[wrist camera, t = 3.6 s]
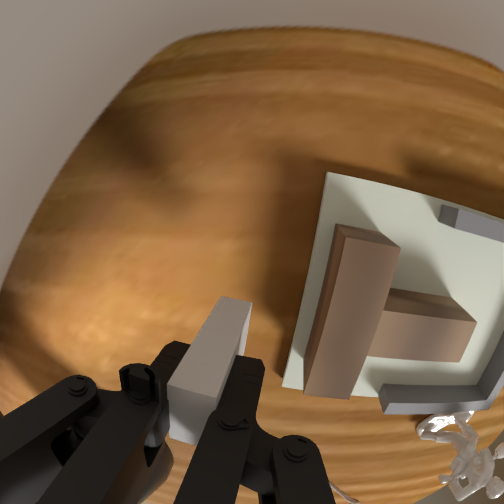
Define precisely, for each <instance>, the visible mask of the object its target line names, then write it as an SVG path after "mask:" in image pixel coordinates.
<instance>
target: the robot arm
mask: <svg viewBox="0 0 504 504" xmlns="http://www.w3.org/2000/svg"><path fill="white" fill-rule="evenodd" d="M251 308H252V302H248V301H243V300H238V299H233V298H228V297H223V296H221V297H220V299H219V300H218V302H217V304H216V305H215V307H214V308H213V310H212V312H211V313H210V315H209V316H208V318H207V320H206V321H205V323H204V325H203V326H202V328H201V329H200V331H199V333H198V334H197V336H196V338H195V339H194V341H193V342H192V344H191V345H190V344H186V343H182V342H178V341H173V342H171V343H169V344H167V345H166V346H164V348H163V349H162V350H161V352H160V353H159V355H158V356H157V357H156V358H155V361H153V363H152V364H151V365H150V366H149V365H146V364H141V363H135V364H129V365H126V366H124V367H122V368H121V369H120V370H119V375H120V381H121V388H122V390H121V391H109V390H102V389H97V387H96V383H95V382H94V381H93V380H92V379H91V378H89V377H87V376H82V375H74V376H70V377H68V378H65V379H64V380H62V381H60V382H59V383H57V384H56V385H54V386H52V387H51V388H49V389H47V390H46V391H44V392H43V393H41V394H39V395H38V396H36V397H34V398H33V399H31V400H30V401H28V402H26V403H25V404H23V405H21V406H20V407H18V408H17V409H15V410H13V411H12V412H10V413H8V414H7V415H5V416H3V414H2V413H1V411H0V504H141V503H142V502H143V501H144V500H146V499H147V498H148V497H149V496H150V495H151V494H152V493H153V492H154V491H155V490H156V489H158V488H159V487H160V486H161V485H162V484H163V483H164V482H165V481H166V479H167V478H168V476H169V473H170V471H171V469H172V467H173V456H172V453H171V451H170V449H169V447H168V446H167V445H166V443H165V437H166V435H167V433H168V431H169V434H170V438H172V439H176V440H179V441H182V442H185V443H189V444H192V445H196V446H197V447H196V449H195V452H194V454H193V457H192V459H191V462H190V464H189V467H188V469H187V472H186V474H185V477H184V479H183V481H182V484H181V486H180V489H179V491H178V494H177V496H176V498H175V501H174V503H173V504H235V501H236V497H237V493H238V489H239V485H240V484H241V485H243V486H245V487H247V488H249V489H251V490H253V491H256V492H258V498H259V504H336V503H335V500H334V496H333V493H332V490H331V487H330V483H329V480H328V477H327V474H326V470H325V467H324V464H323V461H322V458H321V454H320V451H319V449H318V447H317V446H316V444H315V443H314V442H313V441H311V440H310V439H308V438H306V437H303V436H299V435H289V436H284V437H282V438H281V439H279V438H277V437H275V436H272V435H270V434H268V433H267V432H265V431H264V430H263V429H261V428H260V426H259V425H258V423H257V421H256V410H257V406H258V401H259V396H260V392H261V387H262V382H263V377H264V372H265V367H264V365H263V362H262V360H261V359H256V358H251V357H246V356H243V354H244V351H245V345H246V339H247V333H248V327H249V320H250V314H251Z"/></svg>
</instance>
